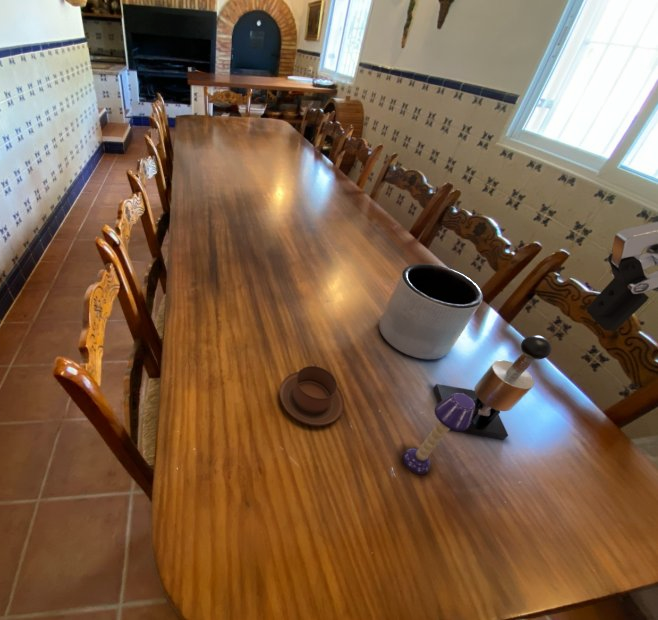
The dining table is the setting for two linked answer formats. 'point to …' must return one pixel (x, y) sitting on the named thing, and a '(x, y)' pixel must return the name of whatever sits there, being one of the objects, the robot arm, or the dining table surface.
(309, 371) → the cup and saucer
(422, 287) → the planter
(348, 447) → the dining table surface
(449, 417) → the toy lamp
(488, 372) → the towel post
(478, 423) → the dark grey lever base
